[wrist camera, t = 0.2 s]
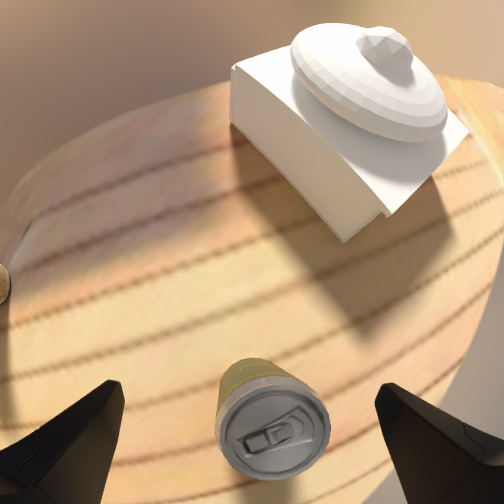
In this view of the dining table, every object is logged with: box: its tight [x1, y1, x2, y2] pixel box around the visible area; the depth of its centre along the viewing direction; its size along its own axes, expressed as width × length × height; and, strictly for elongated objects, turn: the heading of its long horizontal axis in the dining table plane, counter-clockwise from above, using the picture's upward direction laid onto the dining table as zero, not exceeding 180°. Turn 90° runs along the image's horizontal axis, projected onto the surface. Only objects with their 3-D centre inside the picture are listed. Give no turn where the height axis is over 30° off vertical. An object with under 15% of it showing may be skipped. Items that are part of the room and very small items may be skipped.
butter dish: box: [229, 23, 469, 244], centre depth 22 cm, size 18×18×16 cm
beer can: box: [215, 358, 331, 480], centre depth 16 cm, size 5×5×12 cm
